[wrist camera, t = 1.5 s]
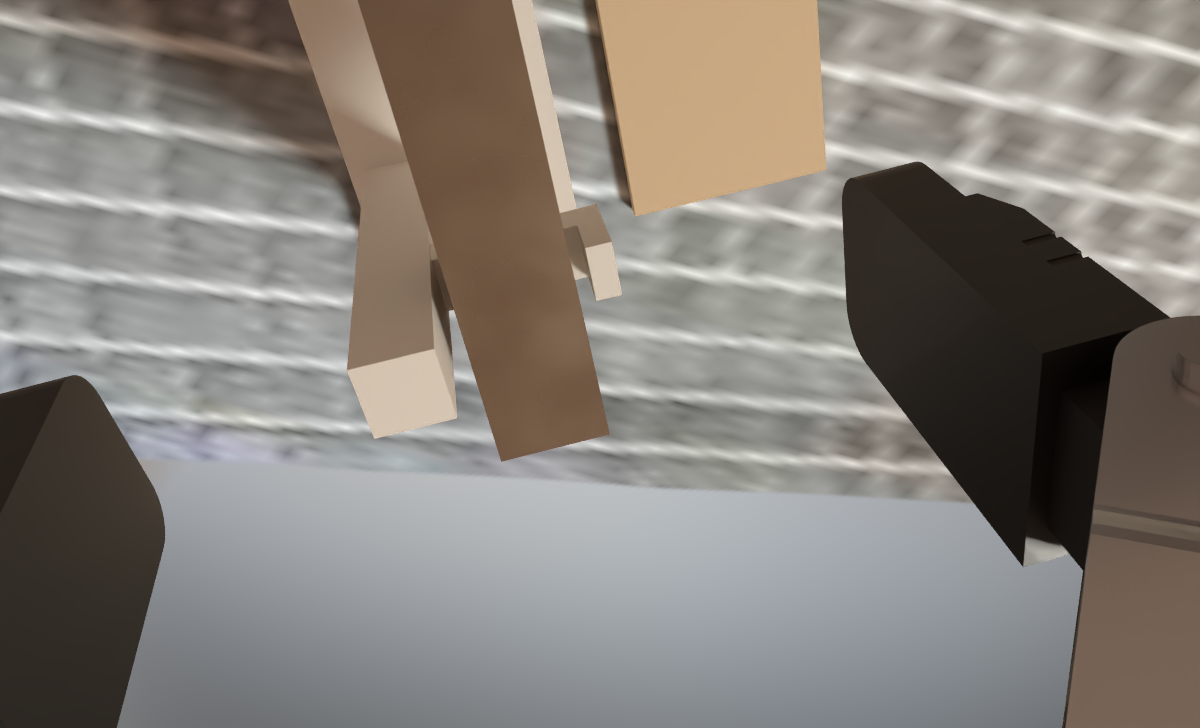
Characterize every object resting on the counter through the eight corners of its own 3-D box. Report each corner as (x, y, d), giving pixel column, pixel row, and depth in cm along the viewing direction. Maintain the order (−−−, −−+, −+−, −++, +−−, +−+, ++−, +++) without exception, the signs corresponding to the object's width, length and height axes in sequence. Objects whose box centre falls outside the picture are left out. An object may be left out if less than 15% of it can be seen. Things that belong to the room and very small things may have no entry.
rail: (354, -668, 17) (345, -737, 14) (591, 373, 29) (609, 434, 27) (180, -632, 17) (140, -696, 14) (493, 398, 29) (501, 461, 26)
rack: (434, -484, 24) (459, -649, 14) (580, 208, 35) (659, 419, 24) (145, -423, 24) (-59, -542, 13) (382, 256, 35) (373, 491, 24)
